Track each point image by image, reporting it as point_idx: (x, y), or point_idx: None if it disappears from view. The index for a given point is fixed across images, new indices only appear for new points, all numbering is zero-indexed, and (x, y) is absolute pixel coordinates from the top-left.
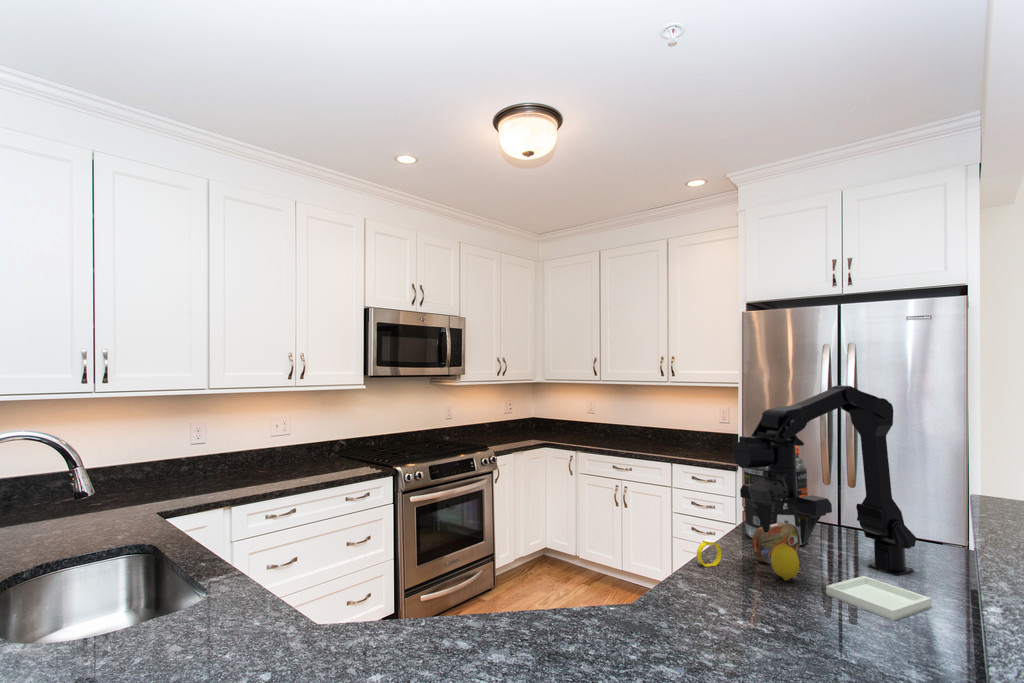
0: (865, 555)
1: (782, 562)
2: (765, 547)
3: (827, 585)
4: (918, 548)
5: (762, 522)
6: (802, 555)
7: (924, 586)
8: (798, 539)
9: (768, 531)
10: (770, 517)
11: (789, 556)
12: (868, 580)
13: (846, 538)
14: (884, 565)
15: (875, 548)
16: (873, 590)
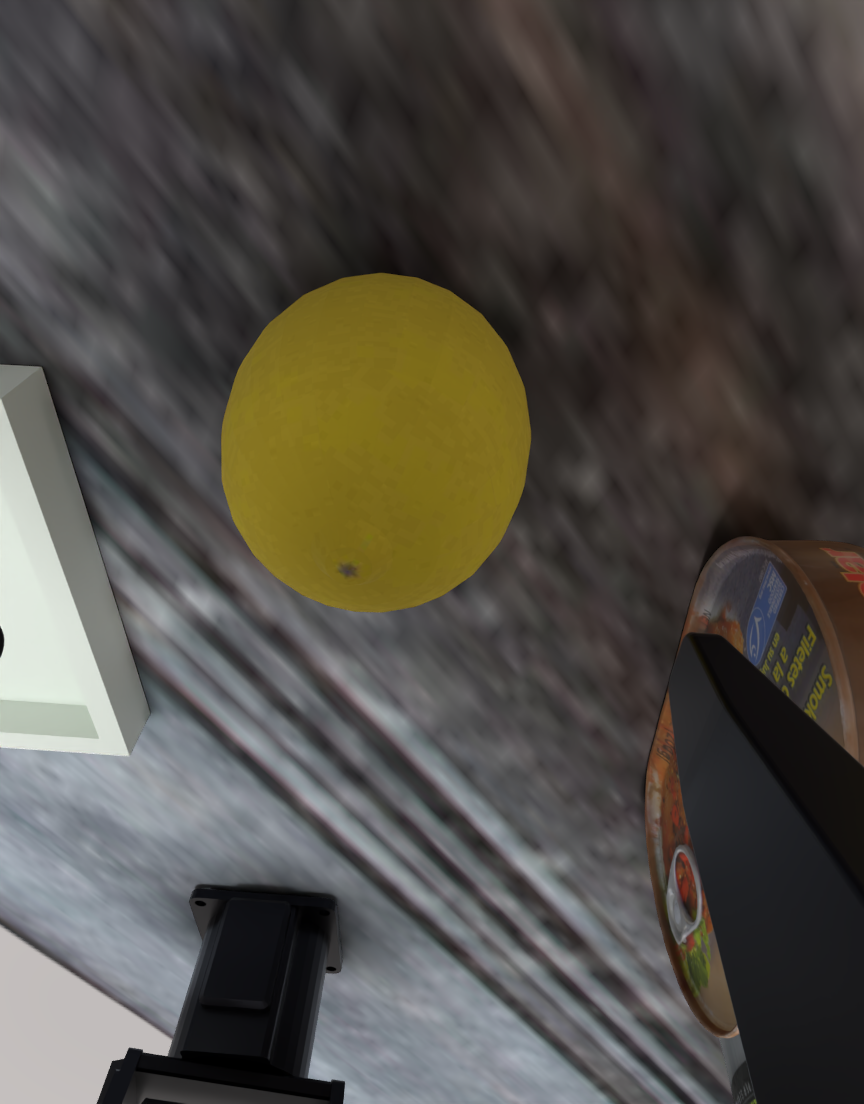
0: (445, 981)
1: (299, 318)
2: (776, 652)
3: (9, 419)
4: (393, 1097)
5: (791, 755)
6: (637, 832)
7: (63, 863)
8: (669, 926)
9: (669, 687)
10: (726, 973)
11: (231, 418)
12: (85, 729)
13: (621, 1067)
14: (233, 921)
15: (267, 1013)
16: (14, 658)
